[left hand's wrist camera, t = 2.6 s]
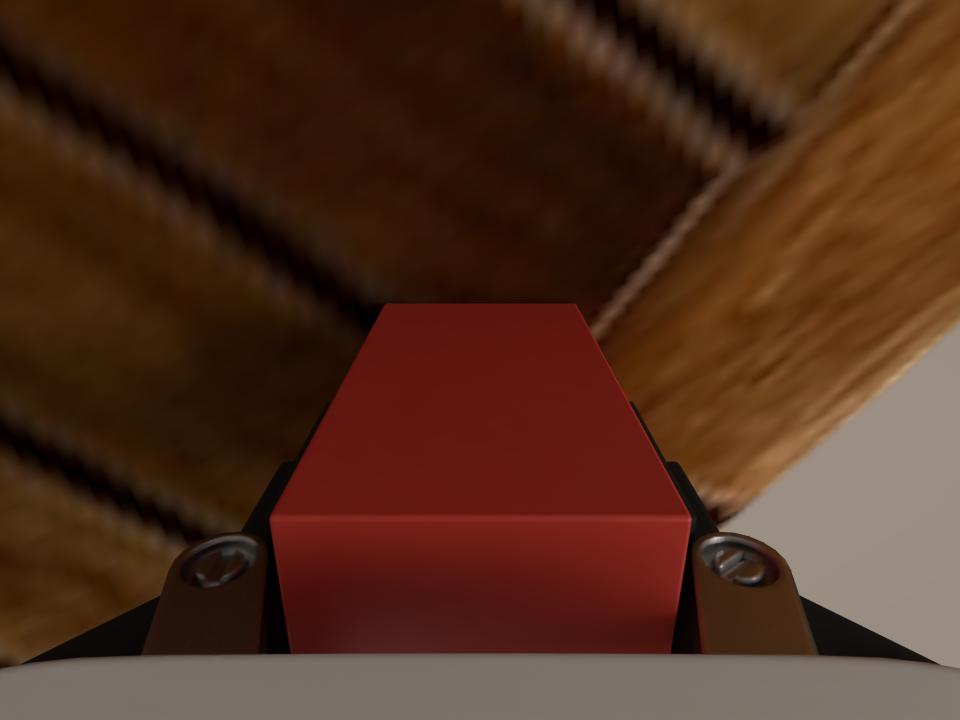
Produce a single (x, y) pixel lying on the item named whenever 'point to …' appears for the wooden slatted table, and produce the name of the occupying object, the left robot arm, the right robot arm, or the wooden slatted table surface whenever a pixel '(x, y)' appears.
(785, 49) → the wooden slatted table surface
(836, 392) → the wooden slatted table surface
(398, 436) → the brick
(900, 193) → the wooden slatted table surface
